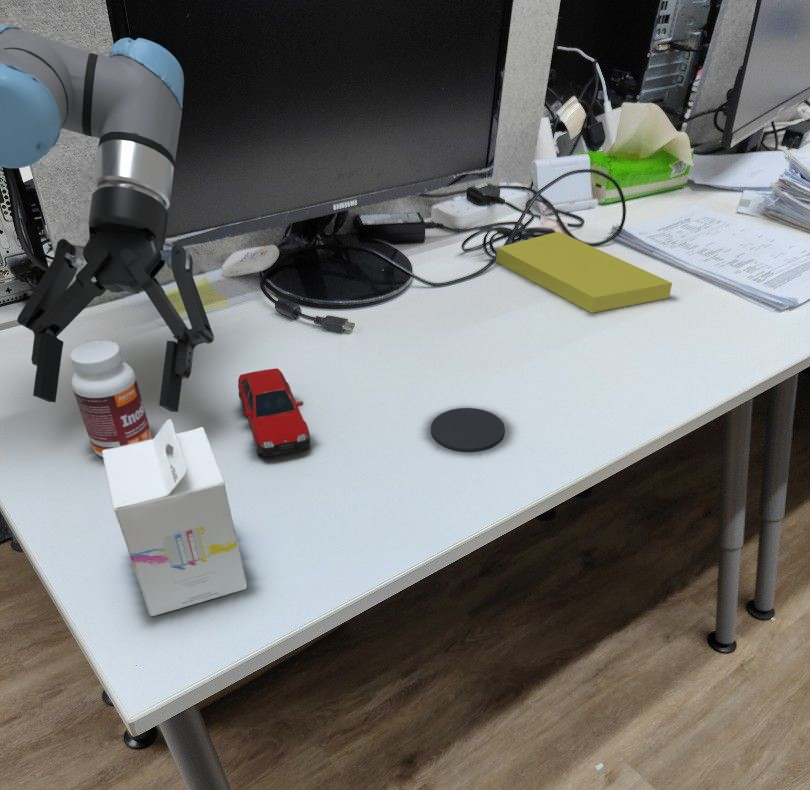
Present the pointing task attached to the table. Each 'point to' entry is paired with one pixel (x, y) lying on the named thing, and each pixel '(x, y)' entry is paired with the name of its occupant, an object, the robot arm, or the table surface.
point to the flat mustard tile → (582, 273)
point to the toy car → (272, 413)
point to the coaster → (467, 429)
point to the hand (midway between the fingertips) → (105, 404)
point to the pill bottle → (108, 396)
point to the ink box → (175, 518)
